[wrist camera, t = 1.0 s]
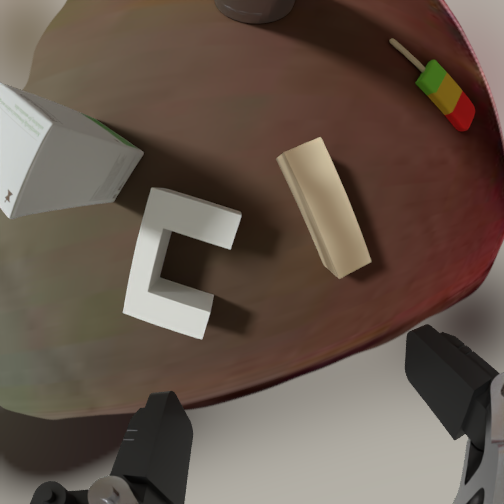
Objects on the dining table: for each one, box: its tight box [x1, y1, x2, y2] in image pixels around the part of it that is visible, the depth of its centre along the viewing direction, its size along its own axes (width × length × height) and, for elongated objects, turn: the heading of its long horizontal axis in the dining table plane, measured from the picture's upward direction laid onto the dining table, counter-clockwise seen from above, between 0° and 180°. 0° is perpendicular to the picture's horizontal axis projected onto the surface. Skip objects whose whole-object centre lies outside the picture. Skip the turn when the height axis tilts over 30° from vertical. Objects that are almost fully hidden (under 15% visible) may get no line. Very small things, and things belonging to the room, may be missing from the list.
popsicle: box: [389, 38, 475, 131], centre depth 25 cm, size 6×15×2 cm, turn 54°
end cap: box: [123, 188, 242, 339], centre depth 26 cm, size 12×8×4 cm, turn 161°
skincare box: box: [0, 82, 144, 219], centre depth 18 cm, size 8×7×16 cm
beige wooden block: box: [276, 137, 371, 279], centre depth 26 cm, size 4×12×5 cm, turn 26°
